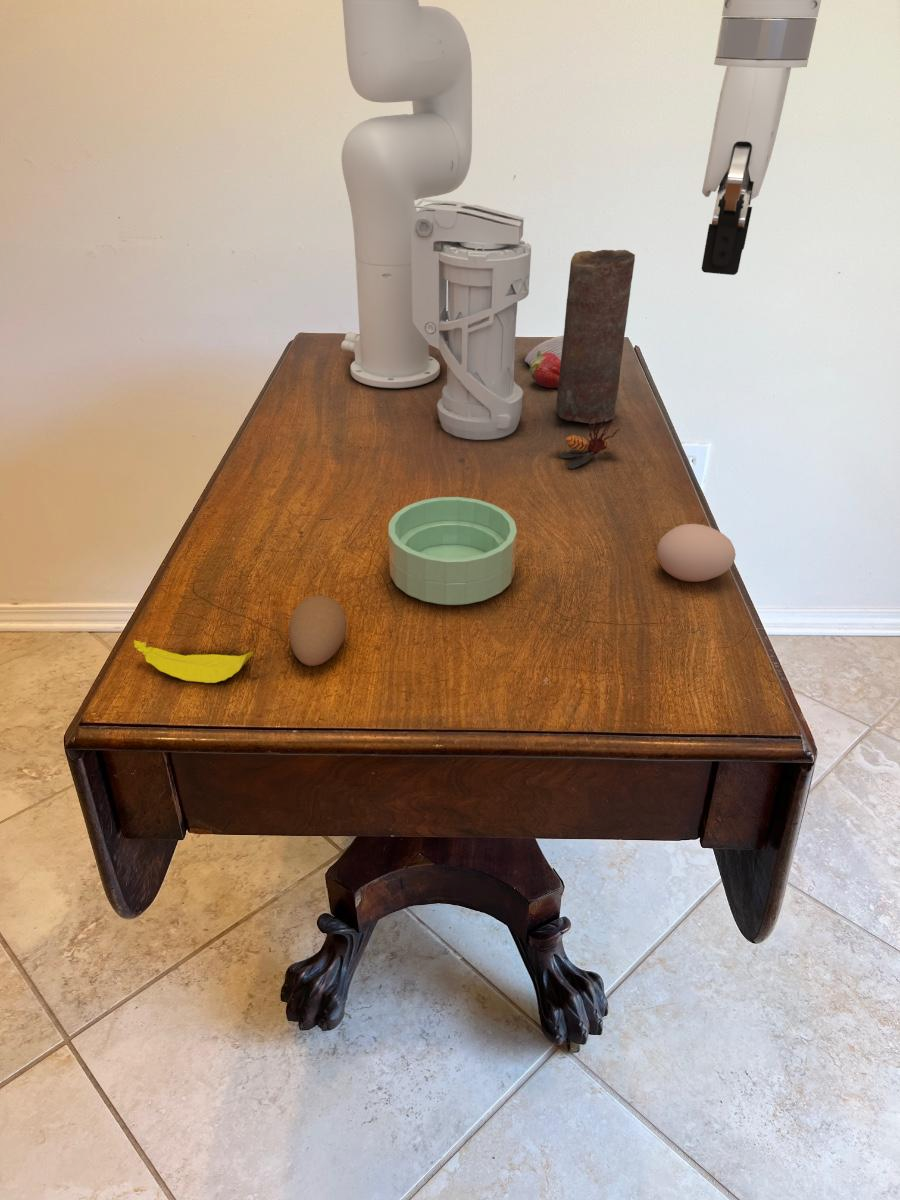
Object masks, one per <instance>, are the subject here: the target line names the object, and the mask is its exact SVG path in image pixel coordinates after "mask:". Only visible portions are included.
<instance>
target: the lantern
mask: <svg viewBox="0 0 900 1200" xmlns="http://www.w3.org/2000/svg"><path fill="white" fill-rule="evenodd" d="M423 202H426V203H428V204H424V205H421V204H422V203H423ZM414 208H416V209H417V212H416V213H415V214H414V216H413V217H412V218H411V269H412V321H413V323H414V325H415V326H416V328H417V329H418V330H419V332H420V333H421V334H422V335H423V337H424V338H425V339H426V341H427V342H428V343H429V346H431V347H434V348H436V349H438V351H439V353H440V355H441V356H442V358H443V360H444V362H445V363H446V365H447V366H446V367H447V369H446V371H447V372H446V379H447V380H446V384H445V385H444V386H443V387H442V391H441V398H439V400H438V401H437V404H436V408H437V416H438V419H439V423H440V426H441V428H442V429H443V431H444V432H446V433H448V434H450V435H452V436H454V437H456V438H457V437H458V438H461V439H465V440H466V439H467V440H475V441H478V440H479V441H482V440H484V441H485V440H487V441H488V440H495V439H496V440H497V439H500V438H505V437H506V436H507V437H508V436H509V435H511V434H513V433H514V432H515V431H516V430H517V428H518V426H519V423H520V420H521V415H522V410H523V397H524V391H523V389H522V387H521V386H520V385H519V384H517V383H516V381H515V380H514V377H515V352H516V349H515V348H516V330H517V316H518V315H517V313H518V302H520V301H522V300H524V299H526V298H527V297H528V296H529V294H530V278H531V277H530V275H531V261H532V260H531V259H532V245H531V244H530V243H528V242H525V240H523V236H524V221H525V220H524V219H525V218H524V217H523V216H519V215H516V214H511V213H508V212H504V211H501V210H496V209H494V208H493V209H492V208H489V207H485V206H482V205H477V204H467V203H465V202H461V201H451V200H438V199H430V198H429V199H428V198H422V199H420V201H418V202H417V203H416V204H415V206H414Z"/></svg>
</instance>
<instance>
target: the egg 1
mask: <svg viewBox="0 0 900 1200" xmlns="http://www.w3.org/2000/svg"><path fill="white" fill-rule="evenodd" d="M347 621H348V620H347V617H346V613H345V611H344V609H343V607H342V605H340V604H339V602H338V601H337V600H335V599H334V598H332V597H330V596H327V595H321V594H318V595H317V594H316V595H312V596H309V597H307V598H305V599H304V600H302V601H301V602H300V603H299V604H298V605H297V606H296V607H295V608H294V609H293V612H292V614H291V616H290V619H289V624H288V639H289V643H290V646H291V649H292V651H293V654H294V656H295V657H296V658H297V660H298V661H300V662H301V663H302V664H304V665H306V666H309V667H316V666H319V665H320V666H321V665H322V664H325V663H326V662H327V661H328V660H330V659H331V658H332V657H334V655H335V654H336V653H337V652H338V650H339V649H340V648H341V646H342V644H343V643H344V640H345V638H346V634H347V630H348V622H347Z"/></svg>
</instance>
